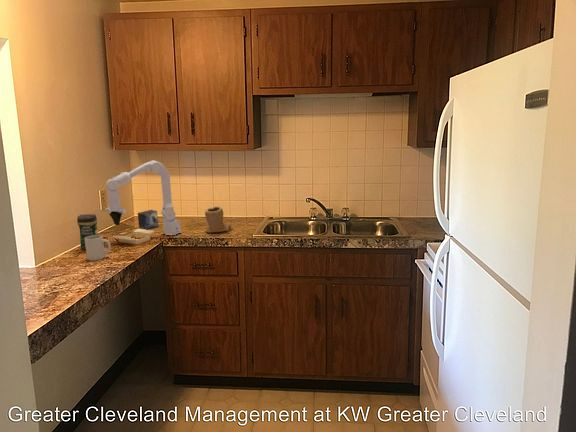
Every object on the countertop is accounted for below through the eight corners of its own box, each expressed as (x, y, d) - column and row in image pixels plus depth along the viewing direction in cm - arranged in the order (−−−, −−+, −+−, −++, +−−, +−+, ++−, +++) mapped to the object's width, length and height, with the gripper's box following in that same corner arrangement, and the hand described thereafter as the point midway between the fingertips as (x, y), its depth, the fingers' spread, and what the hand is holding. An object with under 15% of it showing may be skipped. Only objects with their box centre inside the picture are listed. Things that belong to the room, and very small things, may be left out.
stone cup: (204, 235, 264) (202, 210, 260) (206, 230, 275) (204, 205, 272) (231, 233, 265) (229, 208, 262) (231, 228, 277) (229, 204, 273)
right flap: (149, 233, 258) (149, 235, 258) (154, 230, 261) (154, 232, 262) (133, 231, 264) (133, 233, 265) (138, 228, 267) (138, 230, 268)
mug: (84, 261, 226) (81, 239, 223) (91, 255, 234) (88, 235, 231) (109, 259, 226) (106, 238, 223) (114, 254, 234) (112, 234, 232)
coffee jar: (79, 250, 244) (74, 216, 240) (84, 246, 252) (79, 213, 247) (97, 249, 245) (92, 215, 240) (102, 245, 252) (97, 212, 248)
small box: (145, 230, 280) (143, 214, 278) (138, 229, 284) (136, 212, 282) (159, 226, 288) (157, 210, 286) (152, 225, 292) (151, 209, 290)
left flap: (129, 237, 246) (129, 240, 246) (135, 238, 249) (134, 240, 249) (113, 235, 252) (113, 237, 252) (119, 235, 256) (118, 237, 256)
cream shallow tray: (150, 239, 258) (149, 235, 258) (136, 244, 250) (136, 240, 249) (133, 237, 265) (132, 233, 265) (119, 242, 257) (118, 237, 256)
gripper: (99, 201, 252) (102, 225, 255) (117, 203, 245) (120, 227, 248) (109, 199, 258) (112, 222, 261) (127, 200, 251) (130, 224, 254)
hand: (117, 224), depth 255 cm, fingers closed
